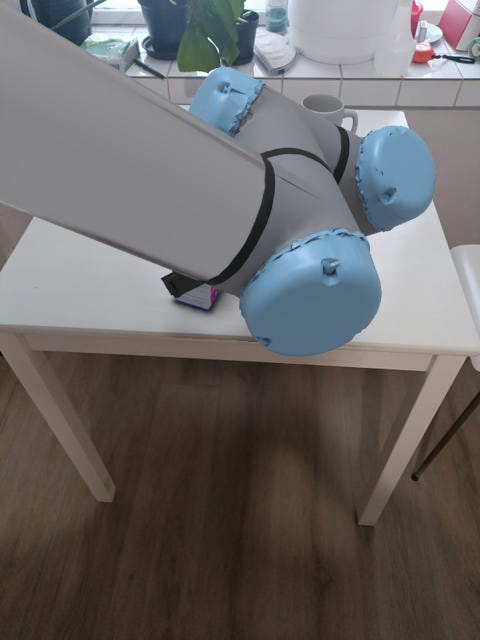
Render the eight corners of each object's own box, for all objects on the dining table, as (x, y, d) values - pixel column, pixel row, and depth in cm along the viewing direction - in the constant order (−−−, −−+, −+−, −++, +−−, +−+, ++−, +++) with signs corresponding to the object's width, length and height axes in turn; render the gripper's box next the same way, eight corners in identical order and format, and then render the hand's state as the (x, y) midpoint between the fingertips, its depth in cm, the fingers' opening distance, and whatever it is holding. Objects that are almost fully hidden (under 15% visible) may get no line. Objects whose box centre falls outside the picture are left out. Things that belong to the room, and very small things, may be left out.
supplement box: (209, 312, 73) (205, 254, 64) (174, 301, 74) (165, 243, 66) (224, 287, 77) (222, 228, 68) (190, 277, 78) (184, 219, 69)
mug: (300, 167, 100) (305, 114, 91) (292, 145, 105) (296, 94, 97) (357, 163, 100) (367, 110, 92) (347, 142, 106) (355, 91, 98)
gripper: (222, 316, 45) (148, 331, 64) (381, 204, 57) (279, 245, 75) (180, 245, 44) (117, 282, 62) (352, 145, 55) (255, 201, 74)
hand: (206, 262), depth 69 cm, fingers open, 13 cm apart
